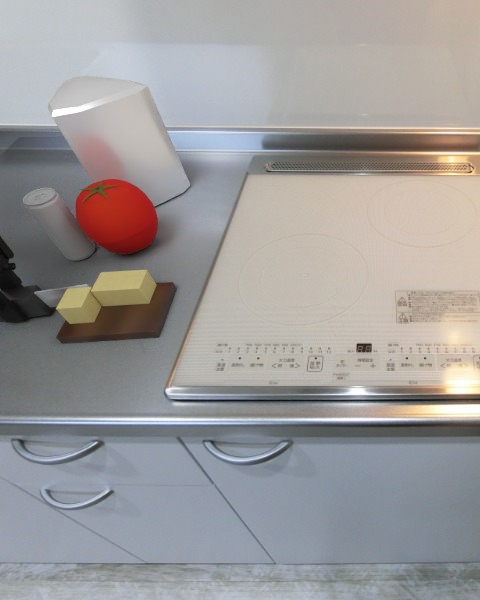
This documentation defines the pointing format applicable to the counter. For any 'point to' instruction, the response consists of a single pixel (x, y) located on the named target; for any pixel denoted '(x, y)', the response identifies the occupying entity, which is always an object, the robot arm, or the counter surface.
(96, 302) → the butter slice
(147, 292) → the butter block
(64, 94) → the white plastic container
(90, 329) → the board
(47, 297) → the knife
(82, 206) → the tomato
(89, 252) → the beverage can
